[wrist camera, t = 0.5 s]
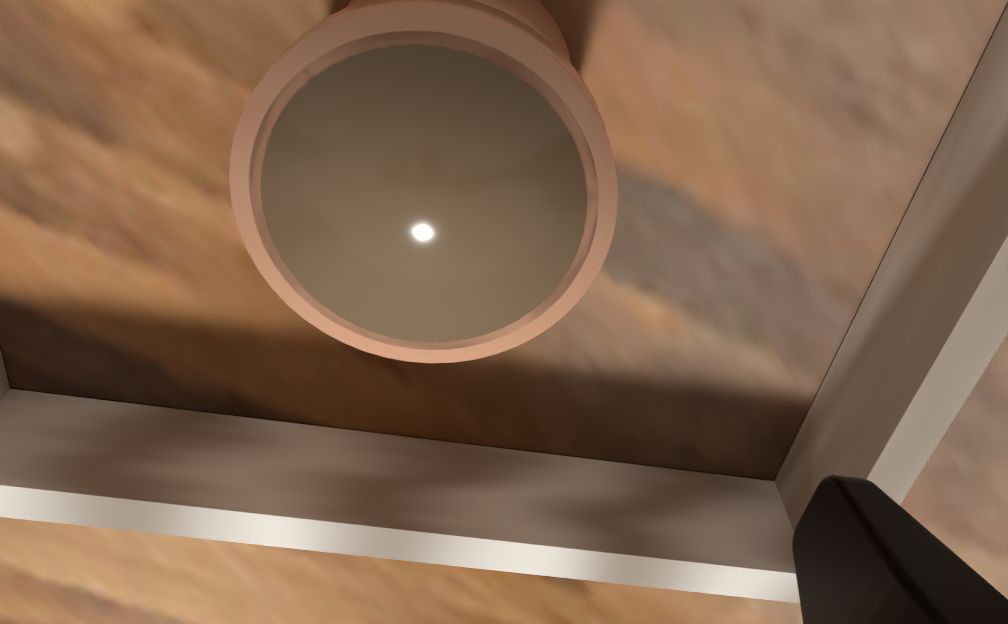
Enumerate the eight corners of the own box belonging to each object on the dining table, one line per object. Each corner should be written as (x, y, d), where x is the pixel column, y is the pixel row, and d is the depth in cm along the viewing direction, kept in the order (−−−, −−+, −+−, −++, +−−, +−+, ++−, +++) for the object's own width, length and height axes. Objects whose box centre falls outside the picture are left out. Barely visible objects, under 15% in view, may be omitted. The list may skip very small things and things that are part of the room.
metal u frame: (1298, -436, 13) (1535, -507, 10) (797, 512, 25) (835, 606, 22) (-378, -828, 11) (-714, -1065, 8) (-25, 415, 23) (-103, 505, 20)
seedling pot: (615, -32, 16) (663, 47, 11) (557, 232, 20) (574, 384, 14) (313, -84, 16) (220, -27, 11) (307, 196, 19) (234, 341, 14)
